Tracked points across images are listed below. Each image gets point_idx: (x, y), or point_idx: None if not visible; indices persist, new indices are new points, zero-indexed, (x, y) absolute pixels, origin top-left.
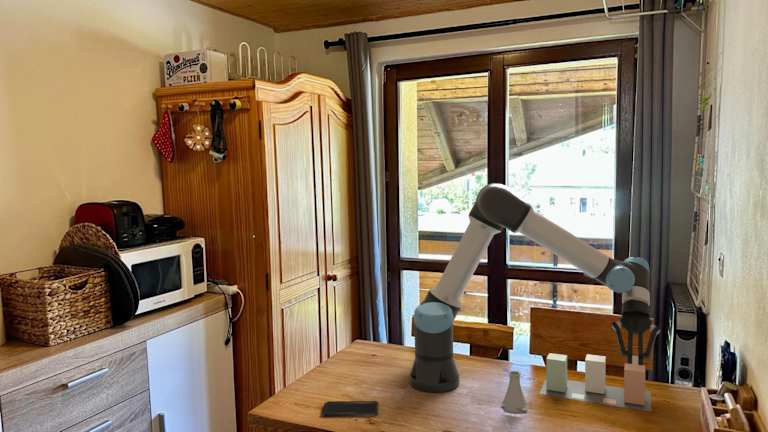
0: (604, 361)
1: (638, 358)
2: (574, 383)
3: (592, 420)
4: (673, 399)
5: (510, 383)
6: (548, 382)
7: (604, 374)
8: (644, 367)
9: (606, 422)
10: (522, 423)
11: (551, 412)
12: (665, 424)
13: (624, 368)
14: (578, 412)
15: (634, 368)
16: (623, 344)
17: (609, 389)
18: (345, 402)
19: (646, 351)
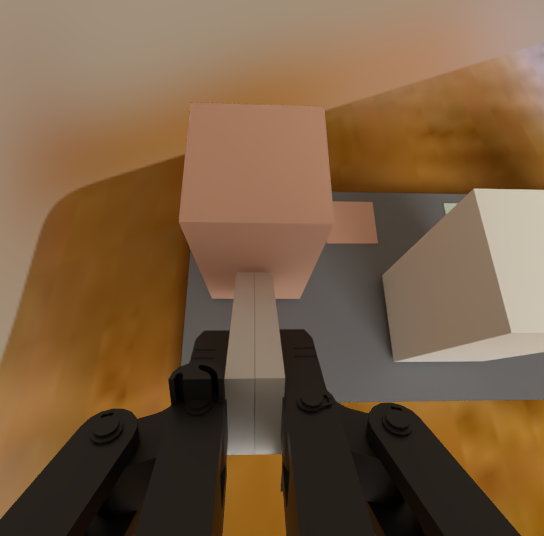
0: (480, 207)
1: (224, 388)
2: (537, 363)
3: (377, 122)
4: (75, 424)
5: None
6: None
7: (426, 233)
8: (188, 183)
9: (336, 124)
10: (538, 54)
11: (502, 131)
12: (157, 168)
13: (325, 121)
14: (429, 157)
15: (260, 143)
16: (436, 510)
17: (370, 353)
18: None
19: (113, 449)
